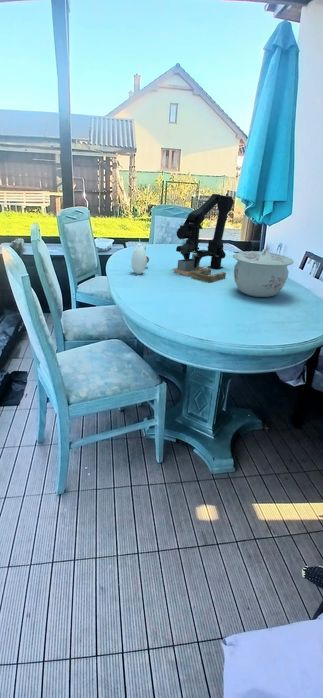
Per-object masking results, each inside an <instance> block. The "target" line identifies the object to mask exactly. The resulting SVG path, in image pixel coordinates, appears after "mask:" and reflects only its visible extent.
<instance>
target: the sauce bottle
mask: <svg viewBox="0 0 323 698" xmlns="http://www.w3.org/2000/svg"><path fill="white" fill-rule="evenodd" d="M138 240H139V241H138V243H137V244H136V246H135V248H134V250H133V252H132V256H131V263H130V264H131V267H132V270H133V272H135V274H137V275H140V274H143V272H145V270H146V268H147V265H146V264H148V263H147V258H146V256H147V254H146V249H145V250H144V248H145V247H143V244H142V243H141V239H140V238H139V239H138Z"/></svg>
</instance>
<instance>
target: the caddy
mask: <svg viewBox="0 0 323 698" xmlns="http://www.w3.org/2000/svg"><path fill="white" fill-rule="evenodd" d="M191 254H192V256H191V258H189V259H178V260H177V267H176V268H177V269H178V270H182V271H191V270H198V269H199V266H200V262H201V261H200V262H199V263H198V265H197V267H196V268H194V264H195V258H194V256H196V253H191Z"/></svg>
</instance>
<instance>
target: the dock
mask: <svg viewBox="0 0 323 698" xmlns="http://www.w3.org/2000/svg"><path fill="white" fill-rule="evenodd" d="M226 274H227V273H226V272H223V271H222V272H217V273H214V274H212V268H207V269H204V270H200V271H196V272H192V276H190V277H191V279H192V278H193V280H196V279H197V281H200V282H204V283H207V282H208V284H210V282H211V283H214V282H218V281H221V280H223V279H224V280H225V279H226Z"/></svg>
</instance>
